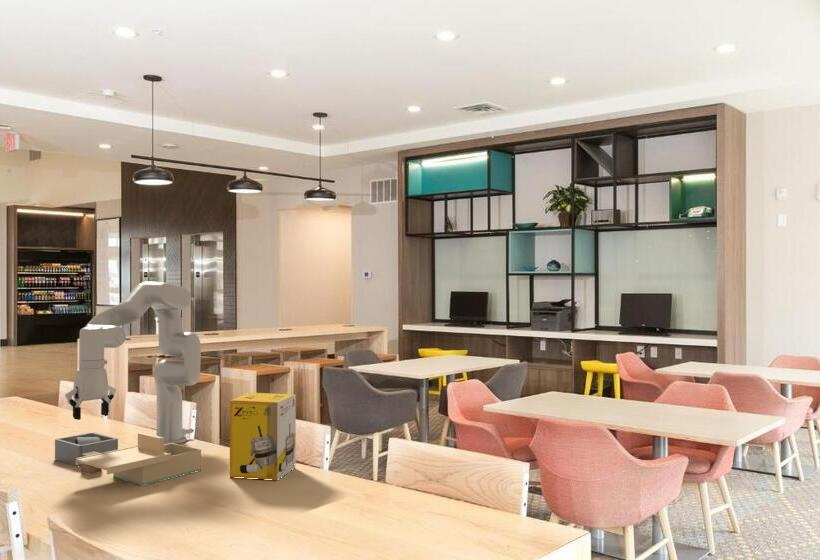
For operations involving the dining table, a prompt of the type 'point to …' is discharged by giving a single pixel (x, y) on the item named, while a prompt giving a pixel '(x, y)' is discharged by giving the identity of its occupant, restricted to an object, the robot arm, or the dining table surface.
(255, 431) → the packaging box
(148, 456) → the lid
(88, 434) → the coaster tray
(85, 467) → the walnut block
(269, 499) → the dining table surface
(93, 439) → the ceramic mug
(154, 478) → the base
